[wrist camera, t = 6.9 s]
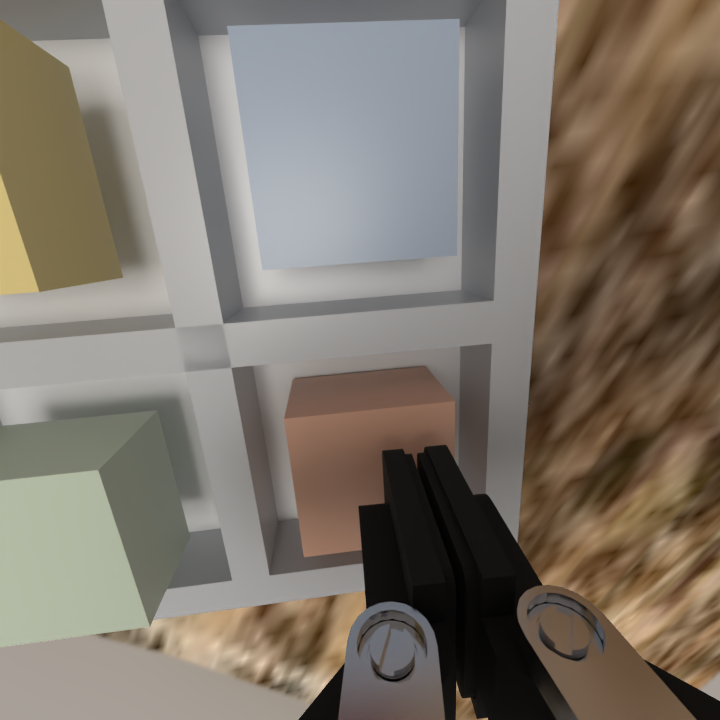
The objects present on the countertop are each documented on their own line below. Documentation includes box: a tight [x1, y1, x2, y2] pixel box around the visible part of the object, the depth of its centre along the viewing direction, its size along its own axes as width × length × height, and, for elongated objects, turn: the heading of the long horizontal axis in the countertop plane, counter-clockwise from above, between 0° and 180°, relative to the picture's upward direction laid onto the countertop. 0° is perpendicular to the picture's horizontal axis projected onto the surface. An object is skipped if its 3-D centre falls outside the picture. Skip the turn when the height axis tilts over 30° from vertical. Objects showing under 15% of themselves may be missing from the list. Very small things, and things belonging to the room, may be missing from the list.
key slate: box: [227, 19, 460, 270], centre depth 9 cm, size 5×5×3 cm
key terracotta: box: [284, 366, 455, 557], centre depth 12 cm, size 5×5×3 cm
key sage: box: [0, 410, 190, 647], centre depth 10 cm, size 5×5×3 cm
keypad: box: [0, 0, 559, 620], centre depth 12 cm, size 18×18×4 cm
